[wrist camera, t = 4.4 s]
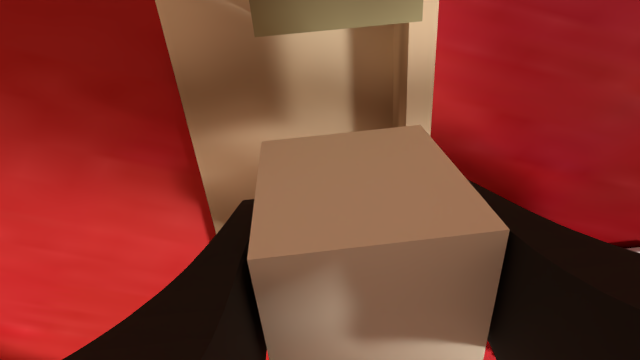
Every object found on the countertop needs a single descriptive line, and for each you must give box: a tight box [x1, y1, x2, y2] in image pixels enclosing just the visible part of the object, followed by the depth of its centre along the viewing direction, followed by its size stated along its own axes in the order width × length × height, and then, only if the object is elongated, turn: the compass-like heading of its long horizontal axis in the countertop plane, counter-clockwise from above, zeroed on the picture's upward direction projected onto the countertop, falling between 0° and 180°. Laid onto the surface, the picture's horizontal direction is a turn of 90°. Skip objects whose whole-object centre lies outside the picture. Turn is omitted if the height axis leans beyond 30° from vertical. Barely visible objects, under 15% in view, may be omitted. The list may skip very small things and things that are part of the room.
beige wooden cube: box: [247, 125, 510, 360], centre depth 11 cm, size 4×5×6 cm
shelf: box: [155, 0, 439, 234], centre depth 15 cm, size 19×10×6 cm, turn 5°
